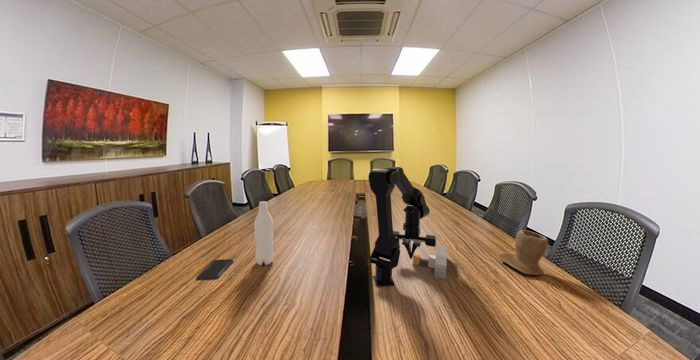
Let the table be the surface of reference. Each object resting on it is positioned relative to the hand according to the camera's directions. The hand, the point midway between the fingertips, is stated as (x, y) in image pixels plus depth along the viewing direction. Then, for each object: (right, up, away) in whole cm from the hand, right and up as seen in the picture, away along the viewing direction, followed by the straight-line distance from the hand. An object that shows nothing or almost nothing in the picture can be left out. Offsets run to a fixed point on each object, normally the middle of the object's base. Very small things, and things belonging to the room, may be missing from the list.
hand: (411, 258), depth 106 cm
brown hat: (+43, -3, -5) cm, 43 cm away
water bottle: (-60, -2, -1) cm, 60 cm away
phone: (-76, -2, -8) cm, 77 cm away
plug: (+6, -2, -2) cm, 6 cm away
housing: (+11, -2, -4) cm, 12 cm away
